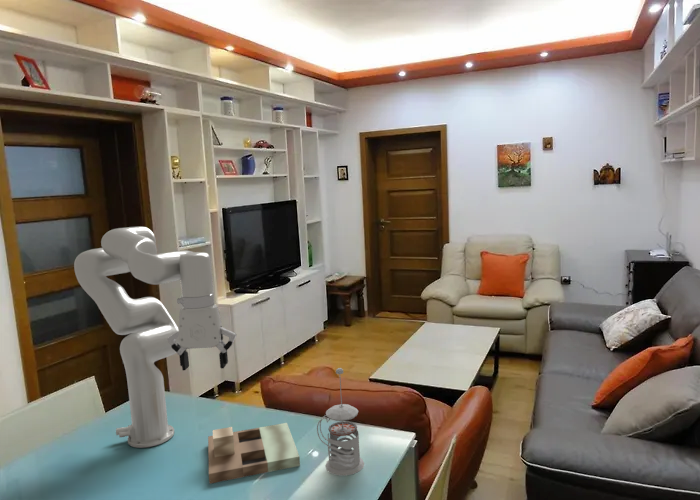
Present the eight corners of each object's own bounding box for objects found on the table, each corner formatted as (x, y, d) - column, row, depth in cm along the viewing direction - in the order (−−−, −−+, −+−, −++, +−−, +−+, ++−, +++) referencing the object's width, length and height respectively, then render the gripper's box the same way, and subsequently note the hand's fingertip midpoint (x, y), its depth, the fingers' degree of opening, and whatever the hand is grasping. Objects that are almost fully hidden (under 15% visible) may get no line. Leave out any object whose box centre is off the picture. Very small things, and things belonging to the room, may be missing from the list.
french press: (356, 478, 120) (351, 377, 117) (312, 471, 124) (306, 373, 121) (369, 457, 129) (364, 363, 126) (327, 451, 133) (322, 359, 130)
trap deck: (209, 483, 121) (208, 473, 120) (208, 445, 140) (208, 436, 140) (300, 465, 127) (299, 456, 126) (287, 430, 146) (286, 422, 145)
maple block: (214, 457, 128) (213, 438, 127) (214, 448, 133) (212, 430, 132) (234, 453, 129) (233, 435, 129) (233, 444, 134) (232, 426, 134)
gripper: (158, 306, 123) (165, 374, 125) (229, 303, 122) (235, 371, 124) (169, 300, 130) (176, 364, 132) (236, 296, 130) (241, 361, 132)
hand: (204, 367), depth 128 cm, fingers open, 9 cm apart
